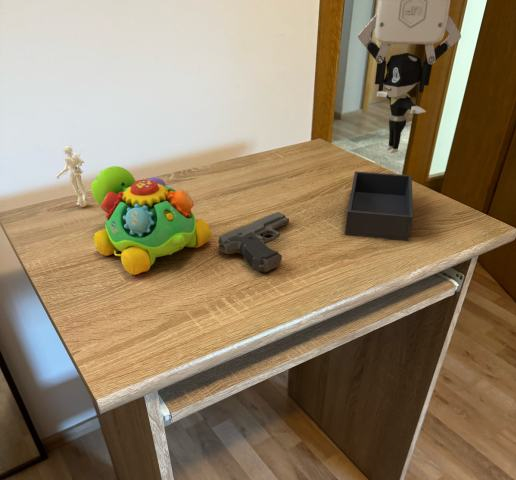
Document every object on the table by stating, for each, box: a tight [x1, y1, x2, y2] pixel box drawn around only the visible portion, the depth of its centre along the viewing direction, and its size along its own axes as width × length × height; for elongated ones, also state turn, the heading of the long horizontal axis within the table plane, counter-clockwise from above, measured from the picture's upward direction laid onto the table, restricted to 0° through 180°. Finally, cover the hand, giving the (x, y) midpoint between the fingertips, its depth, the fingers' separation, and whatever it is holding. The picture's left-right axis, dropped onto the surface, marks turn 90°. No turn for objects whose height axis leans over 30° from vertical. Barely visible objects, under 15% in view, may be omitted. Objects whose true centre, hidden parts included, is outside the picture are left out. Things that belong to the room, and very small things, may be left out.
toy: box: [376, 52, 427, 154], centre depth 81 cm, size 13×6×15 cm, turn 17°
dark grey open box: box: [344, 170, 414, 241], centre depth 92 cm, size 11×18×4 cm, turn 167°
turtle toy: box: [90, 165, 212, 276], centre depth 83 cm, size 17×23×12 cm
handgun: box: [218, 211, 290, 273], centre depth 84 cm, size 3×16×12 cm
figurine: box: [55, 145, 89, 208], centre depth 94 cm, size 5×6×12 cm
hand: (400, 88), depth 79 cm, fingers closed on toy, 5 cm apart
